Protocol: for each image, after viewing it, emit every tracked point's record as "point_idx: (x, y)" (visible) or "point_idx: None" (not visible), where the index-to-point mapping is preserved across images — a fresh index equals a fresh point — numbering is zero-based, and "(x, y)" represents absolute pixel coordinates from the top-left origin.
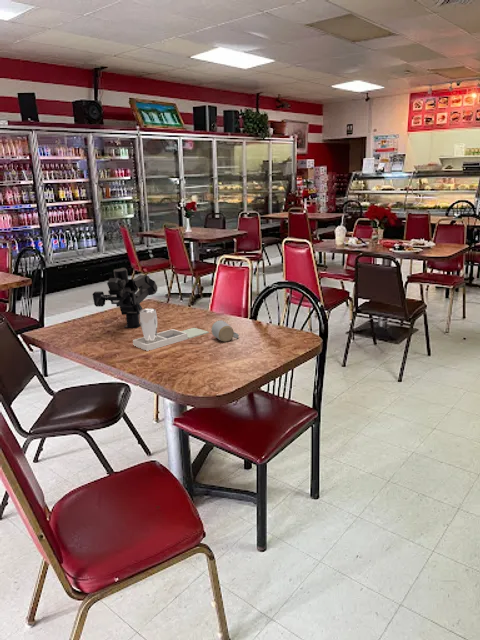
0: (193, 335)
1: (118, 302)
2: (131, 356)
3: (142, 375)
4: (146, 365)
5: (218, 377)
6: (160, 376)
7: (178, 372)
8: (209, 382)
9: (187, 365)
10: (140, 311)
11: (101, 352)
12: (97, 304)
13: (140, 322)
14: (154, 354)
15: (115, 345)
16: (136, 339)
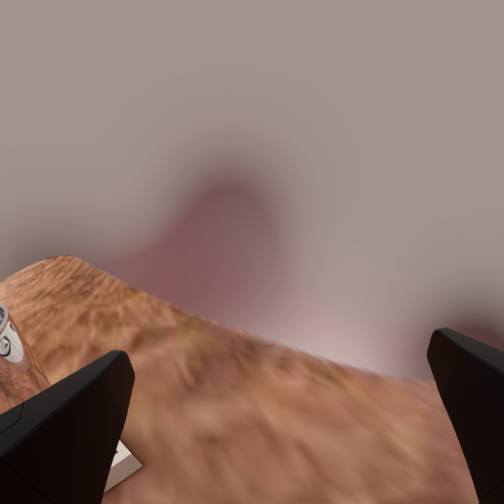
0: None
1: (89, 370)
2: (137, 363)
3: (114, 284)
4: (101, 316)
5: (21, 285)
6: (86, 283)
7: (56, 294)
8: (37, 276)
9: (33, 315)
10: (3, 319)
11: (265, 394)
12: (442, 354)
13: (40, 369)
14: (71, 372)
15: (238, 476)
16: (114, 457)
